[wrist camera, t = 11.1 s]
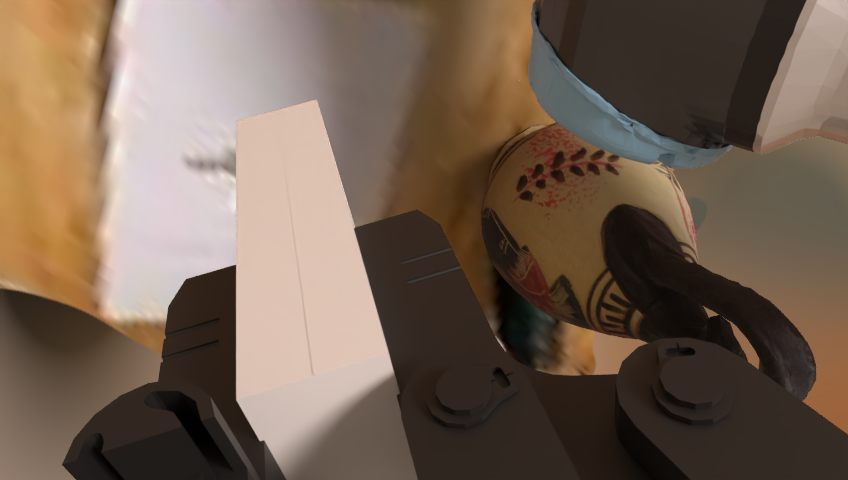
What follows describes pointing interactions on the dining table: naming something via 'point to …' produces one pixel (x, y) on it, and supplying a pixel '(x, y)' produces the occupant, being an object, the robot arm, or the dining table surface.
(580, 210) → the ceramic jug
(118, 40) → the dining table surface
